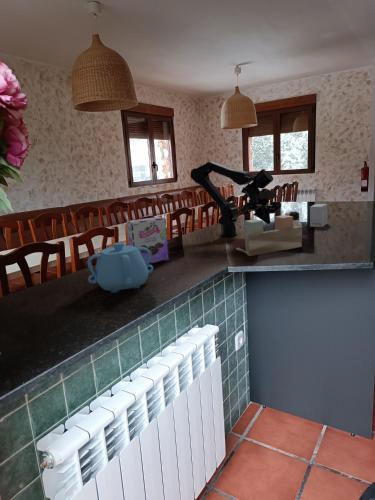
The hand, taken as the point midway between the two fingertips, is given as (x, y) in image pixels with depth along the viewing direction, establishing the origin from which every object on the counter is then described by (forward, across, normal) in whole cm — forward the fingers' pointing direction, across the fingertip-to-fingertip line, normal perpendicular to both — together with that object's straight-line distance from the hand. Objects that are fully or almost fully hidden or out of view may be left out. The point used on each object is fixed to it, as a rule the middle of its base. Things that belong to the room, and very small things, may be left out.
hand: (269, 223), depth 150 cm
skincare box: (-4, +44, +11) cm, 45 cm away
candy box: (+5, -52, +14) cm, 54 cm away
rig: (+12, -8, 0) cm, 14 cm away
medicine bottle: (+7, +11, +3) cm, 14 cm away
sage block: (+13, -15, 0) cm, 20 cm away
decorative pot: (+20, -70, -1) cm, 73 cm away
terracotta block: (+13, -1, -2) cm, 13 cm away
